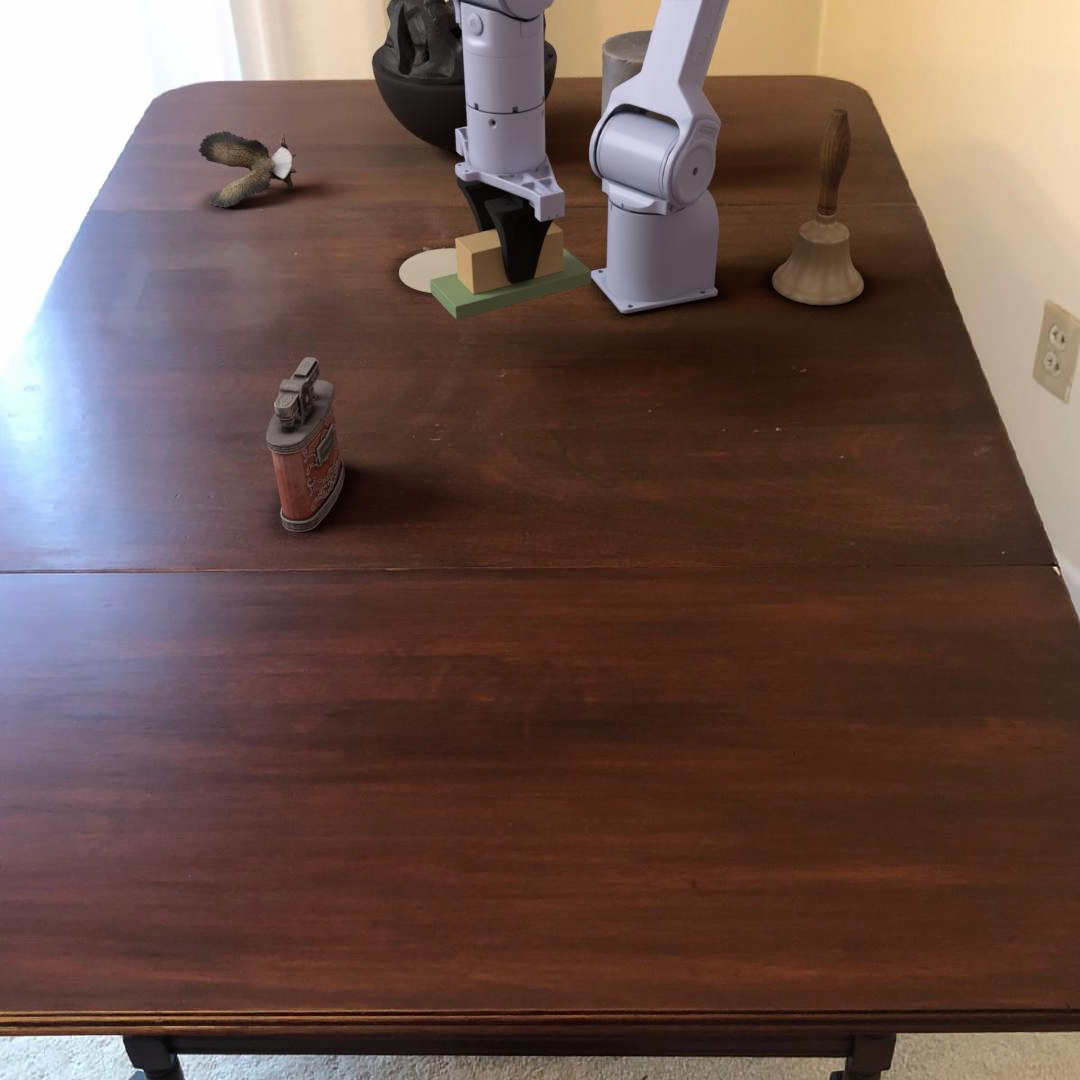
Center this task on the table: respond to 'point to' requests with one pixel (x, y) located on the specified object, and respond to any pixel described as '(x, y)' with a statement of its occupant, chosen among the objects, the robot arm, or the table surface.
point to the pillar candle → (625, 64)
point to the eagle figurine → (246, 165)
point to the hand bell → (824, 233)
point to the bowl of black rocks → (430, 69)
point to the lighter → (305, 448)
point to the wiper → (504, 275)
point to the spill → (428, 268)
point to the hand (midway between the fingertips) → (510, 270)
